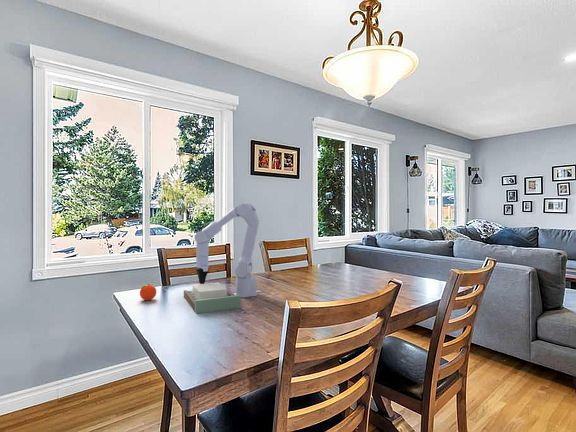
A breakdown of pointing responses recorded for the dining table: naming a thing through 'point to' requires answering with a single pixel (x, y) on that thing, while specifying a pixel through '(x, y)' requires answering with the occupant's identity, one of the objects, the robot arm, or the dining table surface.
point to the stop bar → (217, 303)
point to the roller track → (195, 297)
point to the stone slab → (209, 290)
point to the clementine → (147, 292)
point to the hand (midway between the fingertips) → (202, 283)
